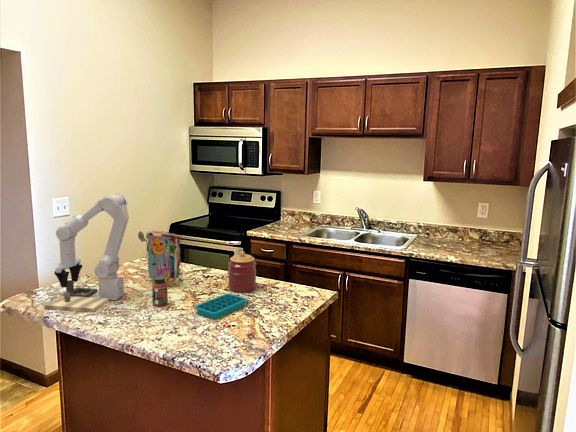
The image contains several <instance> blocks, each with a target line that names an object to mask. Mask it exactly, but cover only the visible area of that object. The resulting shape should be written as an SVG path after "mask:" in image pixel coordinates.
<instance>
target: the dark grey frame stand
mask: <svg viewBox="0 0 576 432" xmlns="http://www.w3.org/2000/svg"><path fill="white" fill-rule="evenodd" d="M74 284H75V283H74V282H73V280H72V279H71V280H70V279H67V287H65V291H66V292H70V296H75V297H92V296H94V295H95V294H97V293H99V290H98V288H92V287H91V288H90V287H89V288H88V287H77V288H75V286H74ZM66 292H65V293H66ZM81 293H84V294H81Z"/></svg>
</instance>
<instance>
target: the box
mask: <svg viewBox="0 0 576 432" xmlns="http://www.w3.org/2000/svg"><path fill="white" fill-rule="evenodd" d="M137 236H138V239H139V240H140V242H142V243H143V242H146V256H147V261H146V262H147V269H148V277H147V279H148V282H150V283H151V281H153V282H155V278H156V277H165V282H166V283H170V281H171V282H172V284H173V285H172V286H175V285H177V282H178V283H180V282H183V278H182V277H184V276H183V274H184V272H183V265H182V263H183V258H182V255H183V254H181V253H183V252H182V239H181V235H180V234H178V235H177V236H176V233H173V232H168V231H165V232H164V231H162V230H161V231H158V230H152V231H148V232H146V235H144V232H142V231H139V232H138V233H137ZM145 237H146V238H145ZM170 253H171V254H172V255H171V254H170ZM180 266H181V267H180ZM180 271H181V272H180ZM179 276H181V277H179ZM150 279H151V280H150ZM171 279H172V280H171ZM175 282H176V283H175ZM180 286H181V284H178V287H180ZM168 287H170V286H168V285H167V288H168Z"/></svg>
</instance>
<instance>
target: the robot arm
mask: <svg viewBox="0 0 576 432" xmlns="http://www.w3.org/2000/svg"><path fill="white" fill-rule="evenodd" d="M128 203H129V202H128V200H127V199H126V198H125V196H124V195H122V194H120V193H116V194H114V195H113V194H112V195H106V196H104V197H102V199H99V200H97V201H96V202H95V203H94V204H93V205H92V206H91V207H90V208H89V209H87V210H86V211H85V212H84V213H83V214H75V215H73V216H72V219H70V220H69V221H67V222H65V223H64V226H59V227H58V228H57V229H56V231H55V235H56V237H57V239H58V240H59V241H58V242H59V254H60V255H59V256H60V262H58V266H57V267H55V271H54V273H53V274H54V275H55V276H56V278H57V279H58V281H59V285H60V287H61V288H66V287H67V280H69V279H68V278H69V275H70V278H71V280H73V282H78V280H79V276H80V273H81V269H82V268H83V264H82V263H81V258H76V236H77V235H78V233H79V232H81V231H82V230H83V229H85V228H86V227H87V226H88V225H89V221H90V220H91V219H93V218H94V217H96V216H97V215H98V214H99V213H101V212H105V213H107V215H109V216H110V217H111V218H112V219H113V223H112V226H111V229H110V232H109V236H108V239H107V243H106V246H105V250H104V253H103V255H102V257H101V258H100V259H99V260H98V264H97V265H96V266H95V267H94V274H95V276H96V277H97V279H98V295H96V296H95V297H94V298H108V301H116V300H117V301H118V299H120V298H121V297H122V296H124V295H125V294H126V293H125V289H124V287H125V286H124V285H125V284H124V283H125V282H124V279H123V277H121V276H118V275H117V274H118V271H119V269H120V257H119V253H120V249H121V245H122V242H123V239H124V236H125V232H126V230H127V225H128V224H129V221H130V220H129V219H130V217H129V211H128ZM67 269H68V270H69V271H66V270H67Z"/></svg>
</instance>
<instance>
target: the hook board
mask: <svg viewBox="0 0 576 432" xmlns="http://www.w3.org/2000/svg"><path fill="white" fill-rule="evenodd" d="M63 294H64V295H61V296H58V297H57V298H56V299H54V300H52V301H50V302H48V303H46V304H44V310H56V311H69V312H72V311H73V312H85V313H87V312H88V313H94V312H95V311H97V310H98V309H100V308H101V307H103V306H104V305H105V304H107V303H108V302H109V300H108V298H95V297H92V296H90V297H75V296H70V292H64V293H63Z"/></svg>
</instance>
